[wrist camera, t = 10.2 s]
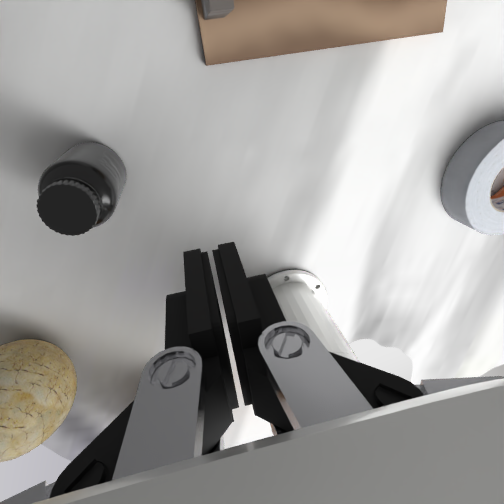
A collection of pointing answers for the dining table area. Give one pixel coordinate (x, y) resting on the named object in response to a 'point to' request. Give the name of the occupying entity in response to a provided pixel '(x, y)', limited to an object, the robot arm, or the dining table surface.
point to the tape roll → (476, 181)
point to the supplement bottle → (81, 188)
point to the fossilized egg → (32, 394)
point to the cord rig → (308, 25)
